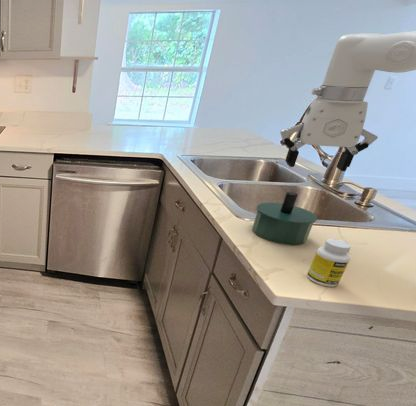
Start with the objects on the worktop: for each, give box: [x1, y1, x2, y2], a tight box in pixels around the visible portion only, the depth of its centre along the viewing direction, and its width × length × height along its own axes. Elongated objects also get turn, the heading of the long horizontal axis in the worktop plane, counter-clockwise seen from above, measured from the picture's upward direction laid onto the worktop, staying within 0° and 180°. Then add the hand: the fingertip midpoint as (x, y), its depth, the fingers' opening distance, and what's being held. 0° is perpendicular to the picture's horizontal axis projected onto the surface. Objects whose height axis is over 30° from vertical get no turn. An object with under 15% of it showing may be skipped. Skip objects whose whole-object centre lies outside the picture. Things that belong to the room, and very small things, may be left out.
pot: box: [251, 210, 314, 246], centre depth 101 cm, size 12×12×6 cm
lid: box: [255, 191, 318, 224], centre depth 99 cm, size 13×13×7 cm
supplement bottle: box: [306, 238, 352, 288], centre depth 81 cm, size 5×5×10 cm
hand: (314, 167), depth 88 cm, fingers open, 9 cm apart
